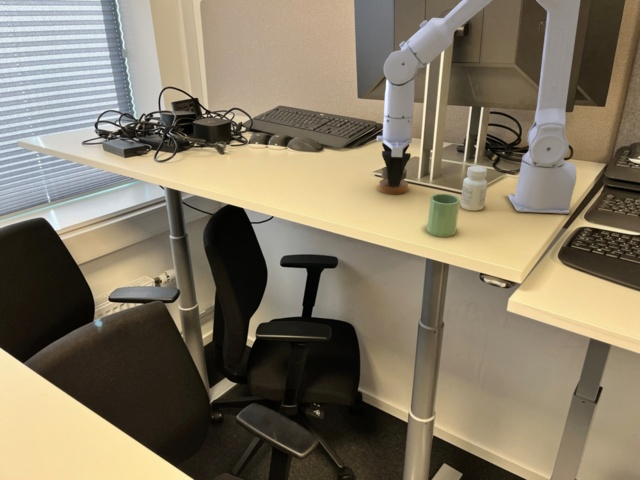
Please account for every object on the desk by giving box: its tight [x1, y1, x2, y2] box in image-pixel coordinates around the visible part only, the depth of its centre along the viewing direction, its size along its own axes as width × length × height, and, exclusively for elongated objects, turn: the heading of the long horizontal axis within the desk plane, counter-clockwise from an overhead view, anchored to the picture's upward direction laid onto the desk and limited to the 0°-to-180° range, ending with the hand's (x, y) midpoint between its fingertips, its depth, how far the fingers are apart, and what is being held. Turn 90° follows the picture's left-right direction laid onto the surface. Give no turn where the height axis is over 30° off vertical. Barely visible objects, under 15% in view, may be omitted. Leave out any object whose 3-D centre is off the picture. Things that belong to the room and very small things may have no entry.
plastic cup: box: [426, 193, 461, 238], centre depth 80 cm, size 5×5×6 cm
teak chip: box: [378, 178, 409, 195], centre depth 99 cm, size 6×6×2 cm
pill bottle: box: [459, 165, 488, 212], centre depth 89 cm, size 4×4×8 cm
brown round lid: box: [380, 166, 408, 180], centre depth 98 cm, size 5×5×2 cm
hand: (393, 180), depth 99 cm, fingers closed on brown round lid, 5 cm apart
